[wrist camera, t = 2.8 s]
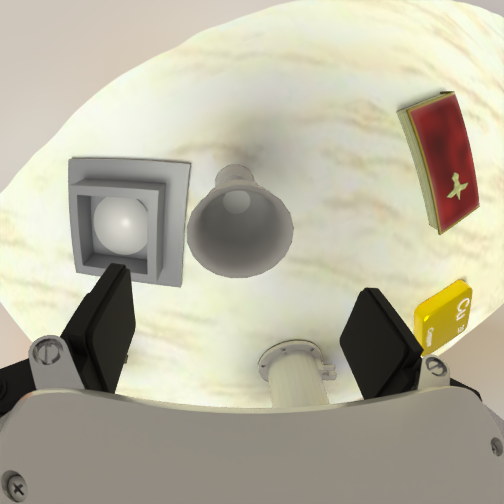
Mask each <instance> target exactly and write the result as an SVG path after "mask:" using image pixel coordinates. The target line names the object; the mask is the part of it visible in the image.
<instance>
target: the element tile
mask: <svg viewBox="0 0 504 504" xmlns="http://www.w3.org/2000/svg"><path fill="white" fill-rule="evenodd" d="M471 299H472V288H471V287H470V286H469V285H467V284H466V283H465V282H464V281H463V280H461V279H459V280H457V281H456V282H454V283H453V284H451V285H450V286H448V287H447V288H445V289H444V290H442V291H440V292H439V293H437V294H436V295H434V296H433V297H431V298H429V299H428V300H426V301H424V302H423V303H421V304H420V305H419V306H418V307H417V308H416V309H415V312H414V336H415V338H416V339H417V341H418V342H419V343H420V345H421V346H422V348H423V349H424V351H423V353H422V354H421V355H422V356H423V357H424V356H426V355H428V354H431V353H432V352H434V351H435V350H437V349H438V348H440V347H441V346H443V345H444V344H446V343H447V342H449V341H450V340H452V339H453V338H455V337H456V336H457V335H459V334H460V333H462V332H463V331H464V330H465V329H466V327H467V324H468V319H469V313H470V306H471Z"/></svg>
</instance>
